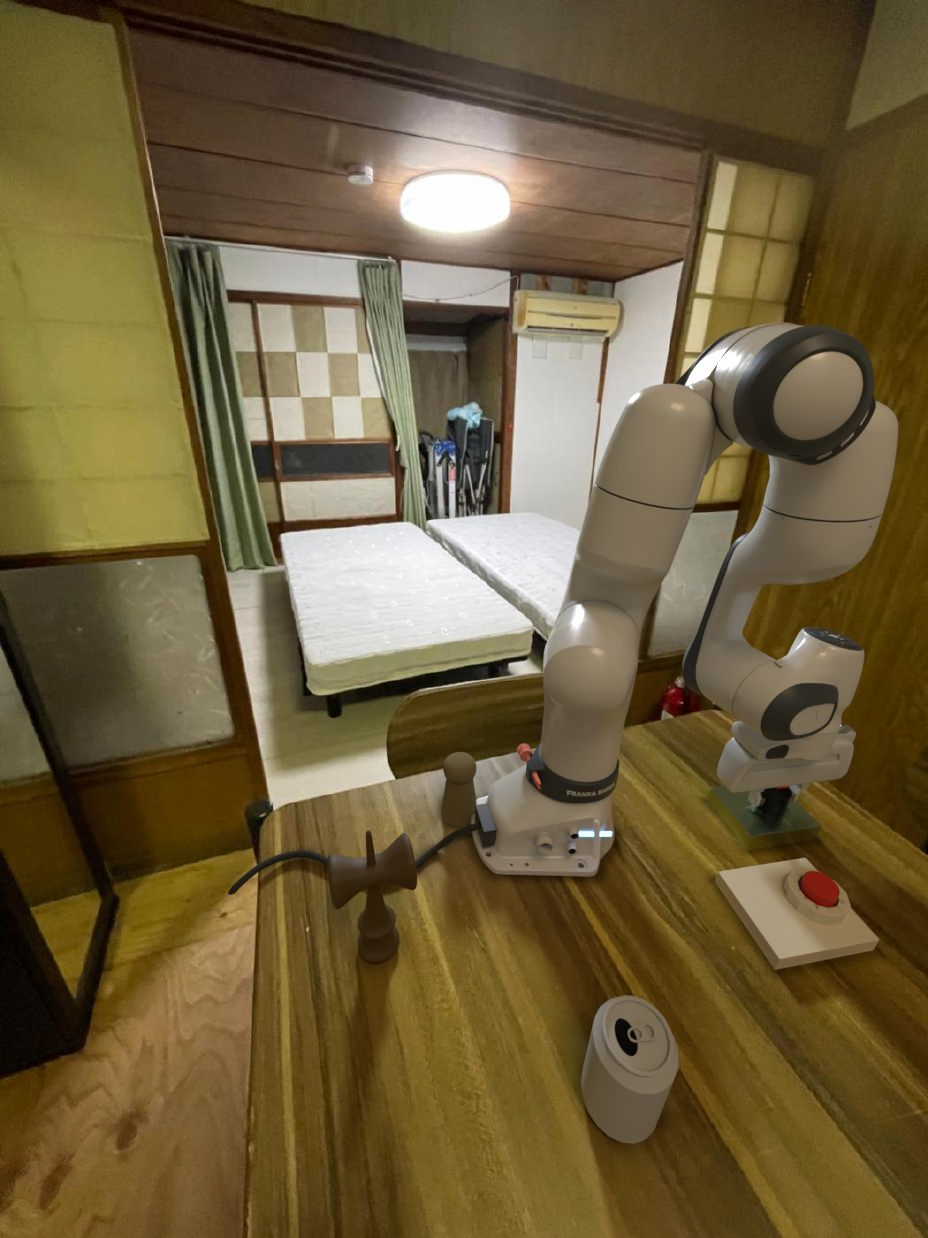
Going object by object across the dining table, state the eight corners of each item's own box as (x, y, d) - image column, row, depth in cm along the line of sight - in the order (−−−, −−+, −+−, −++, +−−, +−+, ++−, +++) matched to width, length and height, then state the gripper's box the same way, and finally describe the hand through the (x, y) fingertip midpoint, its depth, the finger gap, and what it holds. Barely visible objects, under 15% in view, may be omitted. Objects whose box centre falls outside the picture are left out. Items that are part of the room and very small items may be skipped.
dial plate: (746, 850, 77) (751, 835, 76) (707, 800, 86) (711, 786, 85) (815, 839, 79) (822, 825, 78) (770, 792, 88) (775, 778, 87)
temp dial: (767, 817, 79) (774, 799, 77) (748, 796, 83) (754, 778, 81) (792, 813, 80) (799, 795, 78) (772, 793, 84) (778, 775, 82)
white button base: (774, 970, 62) (784, 950, 60) (714, 882, 72) (721, 862, 71) (873, 950, 64) (885, 930, 62) (801, 867, 75) (809, 848, 73)
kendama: (422, 956, 63) (418, 841, 54) (342, 982, 60) (324, 865, 51) (411, 911, 68) (406, 800, 59) (337, 934, 65) (320, 820, 56)
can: (571, 1055, 54) (584, 989, 49) (639, 1048, 55) (660, 983, 49) (593, 1152, 47) (611, 1089, 42) (671, 1144, 48) (699, 1080, 43)
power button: (815, 909, 65) (820, 900, 64) (792, 881, 69) (796, 872, 68) (843, 904, 66) (847, 895, 65) (818, 877, 69) (822, 868, 68)
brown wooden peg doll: (474, 829, 80) (476, 775, 75) (437, 823, 81) (436, 770, 76) (480, 800, 86) (482, 748, 81) (445, 795, 87) (444, 743, 82)
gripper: (841, 711, 79) (813, 779, 86) (722, 724, 76) (702, 793, 82) (877, 737, 74) (844, 808, 80) (750, 752, 71) (726, 825, 77)
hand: (771, 801), depth 81 cm, fingers closed on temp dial, 4 cm apart
